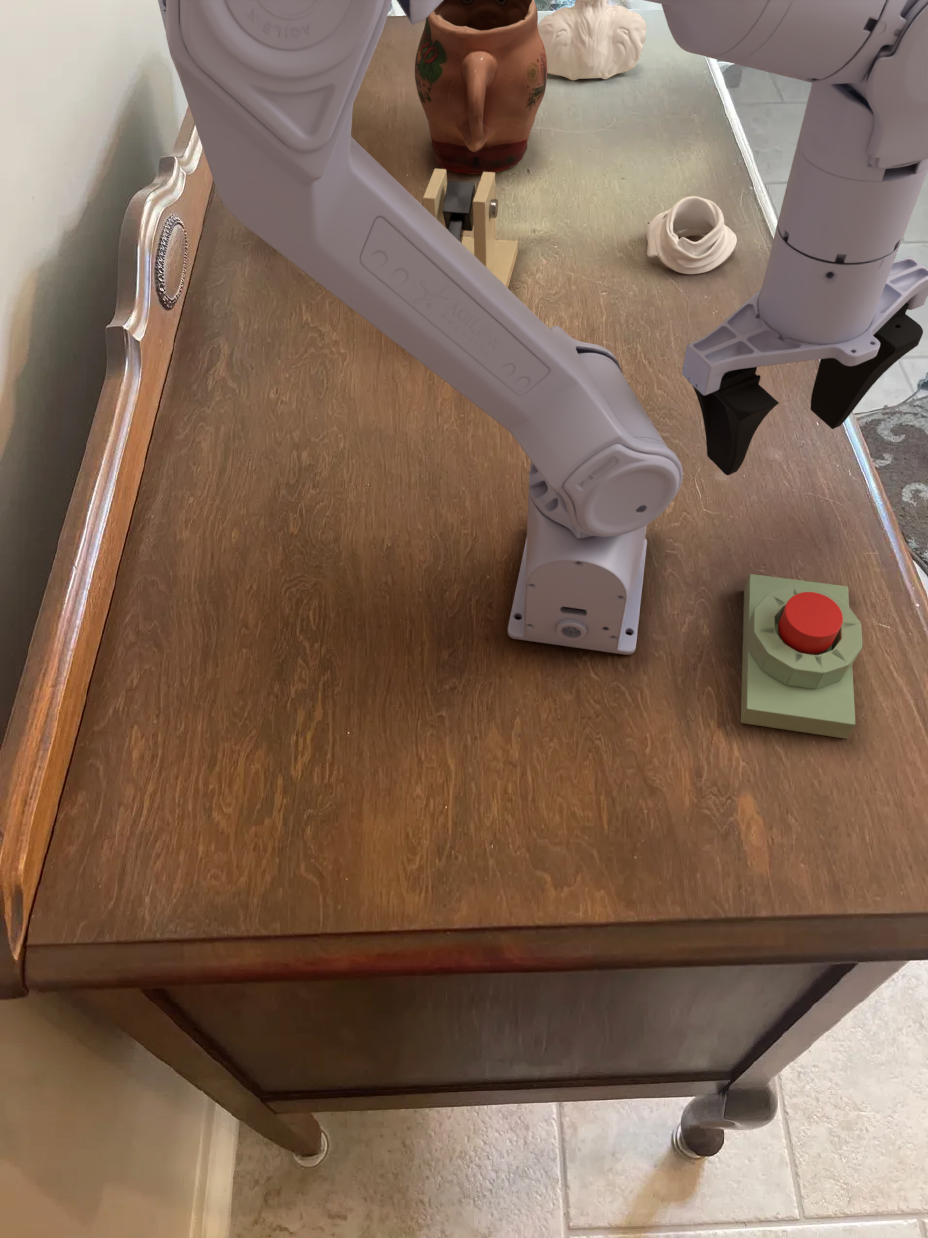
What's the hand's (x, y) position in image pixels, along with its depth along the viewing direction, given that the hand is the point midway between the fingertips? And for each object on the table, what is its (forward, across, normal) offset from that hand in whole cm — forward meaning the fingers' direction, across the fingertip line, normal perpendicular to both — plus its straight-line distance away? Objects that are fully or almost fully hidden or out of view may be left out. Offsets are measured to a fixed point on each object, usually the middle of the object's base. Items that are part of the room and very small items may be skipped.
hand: (774, 440), depth 55 cm
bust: (+9, +27, +64) cm, 70 cm away
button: (+6, -3, -9) cm, 12 cm away
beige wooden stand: (+9, -3, +35) cm, 36 cm away
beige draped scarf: (+9, +16, +29) cm, 34 cm away
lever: (+5, -5, +33) cm, 33 cm away
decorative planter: (+9, +8, +52) cm, 53 cm away
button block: (+9, -4, -9) cm, 13 cm away
